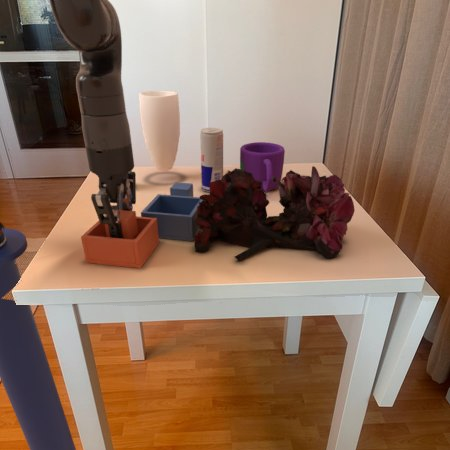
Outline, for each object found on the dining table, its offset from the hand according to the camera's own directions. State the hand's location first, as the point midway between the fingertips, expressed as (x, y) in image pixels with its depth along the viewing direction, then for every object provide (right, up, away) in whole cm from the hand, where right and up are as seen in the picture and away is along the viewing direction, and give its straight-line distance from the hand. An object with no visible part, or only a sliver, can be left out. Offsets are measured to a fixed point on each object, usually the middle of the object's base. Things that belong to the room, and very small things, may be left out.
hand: (122, 234), depth 79 cm
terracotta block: (0, 0, 0) cm, 0 cm away
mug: (+29, +17, +31) cm, 46 cm away
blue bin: (+9, +3, +11) cm, 14 cm away
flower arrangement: (+29, 0, +7) cm, 30 cm away
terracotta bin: (0, -3, +2) cm, 4 cm away
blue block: (+9, +11, +23) cm, 27 cm away
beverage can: (+16, +17, +31) cm, 39 cm away
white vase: (+3, +22, +38) cm, 44 cm away
